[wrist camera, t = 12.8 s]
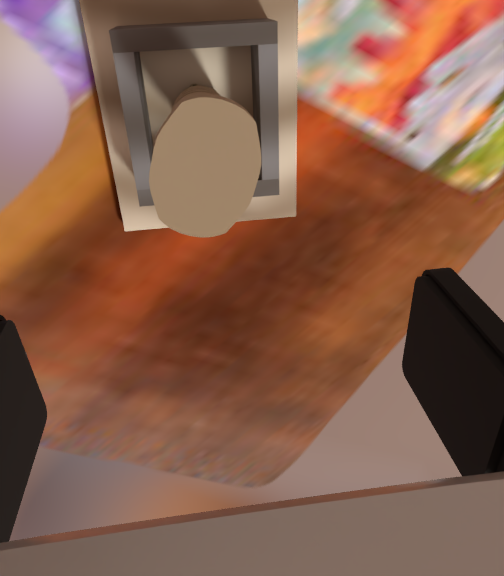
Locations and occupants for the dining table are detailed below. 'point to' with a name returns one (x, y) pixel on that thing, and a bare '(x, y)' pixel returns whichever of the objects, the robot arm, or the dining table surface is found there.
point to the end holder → (195, 70)
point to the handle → (204, 163)
